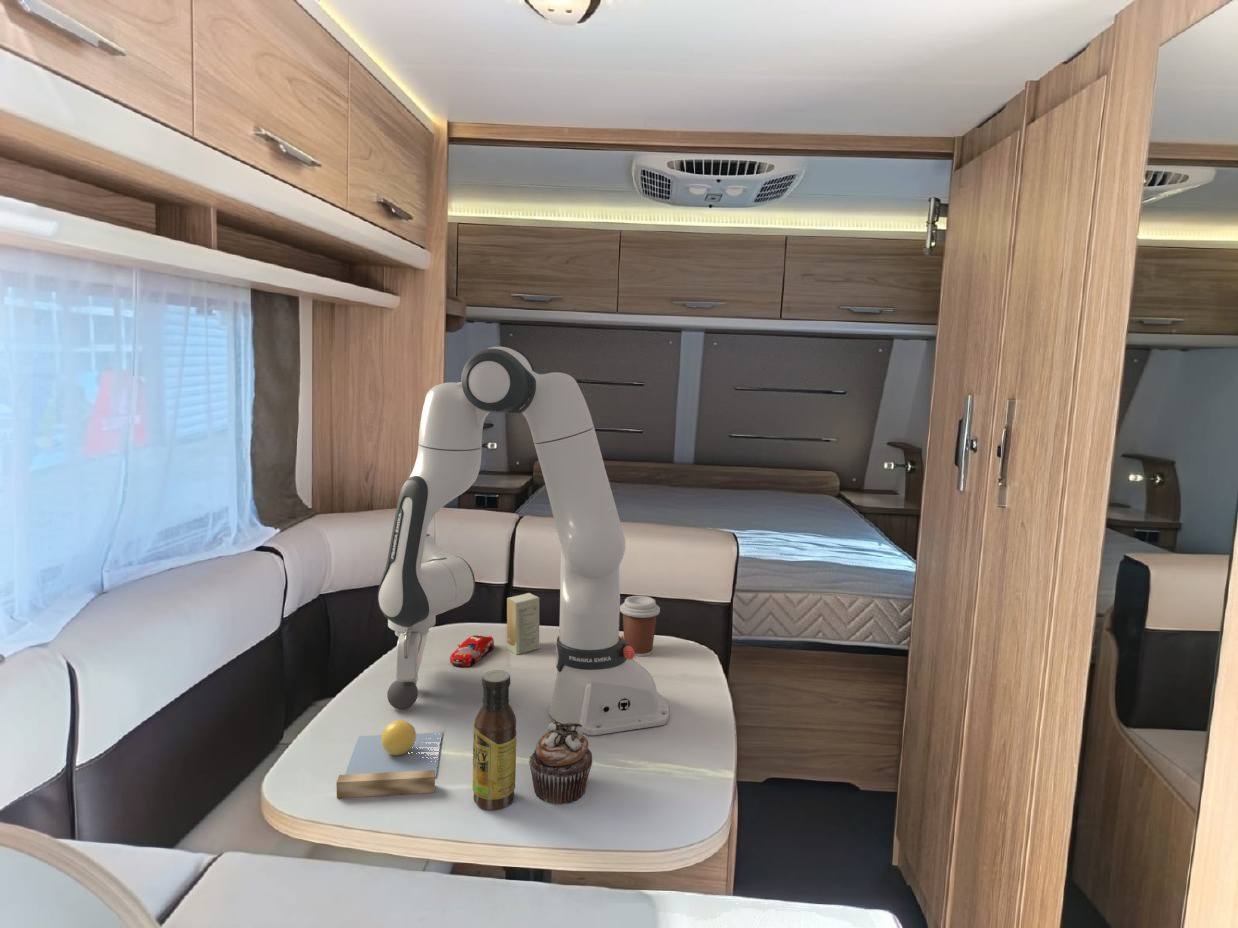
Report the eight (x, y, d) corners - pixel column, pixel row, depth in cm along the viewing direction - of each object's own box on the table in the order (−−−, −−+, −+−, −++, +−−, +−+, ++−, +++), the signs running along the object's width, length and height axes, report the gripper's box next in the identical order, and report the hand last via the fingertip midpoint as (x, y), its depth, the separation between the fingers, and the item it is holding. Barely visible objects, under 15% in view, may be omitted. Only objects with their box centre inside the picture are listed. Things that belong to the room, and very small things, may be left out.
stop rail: (434, 784, 115) (434, 769, 115) (433, 792, 113) (433, 777, 113) (339, 790, 113) (339, 774, 113) (336, 797, 111) (336, 782, 111)
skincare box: (529, 643, 173) (530, 591, 171) (540, 649, 170) (541, 596, 168) (505, 649, 169) (506, 596, 167) (515, 655, 166) (516, 602, 164)
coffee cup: (615, 644, 174) (616, 594, 172) (653, 642, 176) (655, 593, 174) (622, 659, 165) (624, 607, 164) (662, 658, 167) (664, 606, 165)
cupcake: (529, 772, 120) (531, 713, 118) (590, 772, 120) (592, 713, 119) (526, 808, 110) (527, 744, 109) (592, 807, 111) (594, 744, 109)
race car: (467, 671, 157) (467, 653, 157) (445, 666, 159) (445, 648, 159) (498, 648, 170) (498, 631, 169) (477, 644, 172) (477, 628, 171)
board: (442, 733, 131) (442, 732, 131) (435, 777, 117) (435, 776, 117) (359, 737, 128) (358, 735, 128) (342, 782, 115) (342, 781, 115)
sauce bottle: (468, 793, 113) (469, 668, 110) (508, 785, 116) (510, 662, 113) (478, 817, 108) (479, 685, 105) (520, 808, 110) (522, 679, 107)
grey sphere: (412, 682, 136) (415, 712, 137) (419, 672, 142) (422, 701, 142) (381, 685, 136) (385, 715, 136) (390, 676, 142) (393, 704, 142)
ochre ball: (414, 748, 120) (416, 757, 125) (415, 714, 123) (417, 723, 128) (378, 751, 119) (382, 760, 124) (380, 717, 122) (383, 726, 127)
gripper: (423, 635, 134) (423, 707, 136) (433, 598, 154) (433, 662, 156) (387, 636, 133) (387, 709, 135) (401, 599, 153) (402, 663, 155)
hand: (412, 684), depth 146 cm, fingers closed
